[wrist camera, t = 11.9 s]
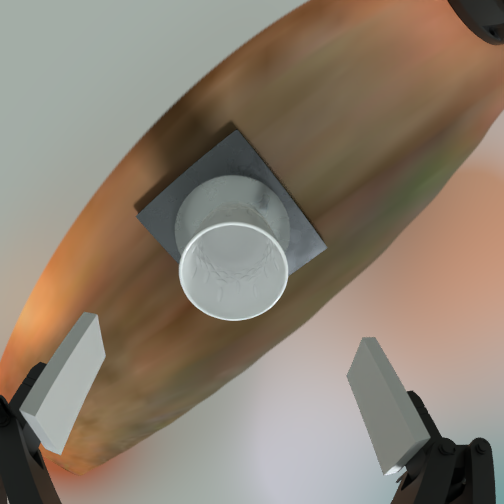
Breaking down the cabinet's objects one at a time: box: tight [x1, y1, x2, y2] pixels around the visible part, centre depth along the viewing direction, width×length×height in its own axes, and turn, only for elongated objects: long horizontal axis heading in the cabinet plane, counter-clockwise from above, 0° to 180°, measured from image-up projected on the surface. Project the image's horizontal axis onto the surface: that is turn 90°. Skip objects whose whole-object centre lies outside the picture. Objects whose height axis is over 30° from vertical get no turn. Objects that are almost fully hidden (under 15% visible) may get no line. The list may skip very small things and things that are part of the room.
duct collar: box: [136, 130, 327, 276], centre depth 31 cm, size 14×16×2 cm
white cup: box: [179, 201, 288, 321], centre depth 26 cm, size 8×8×10 cm
